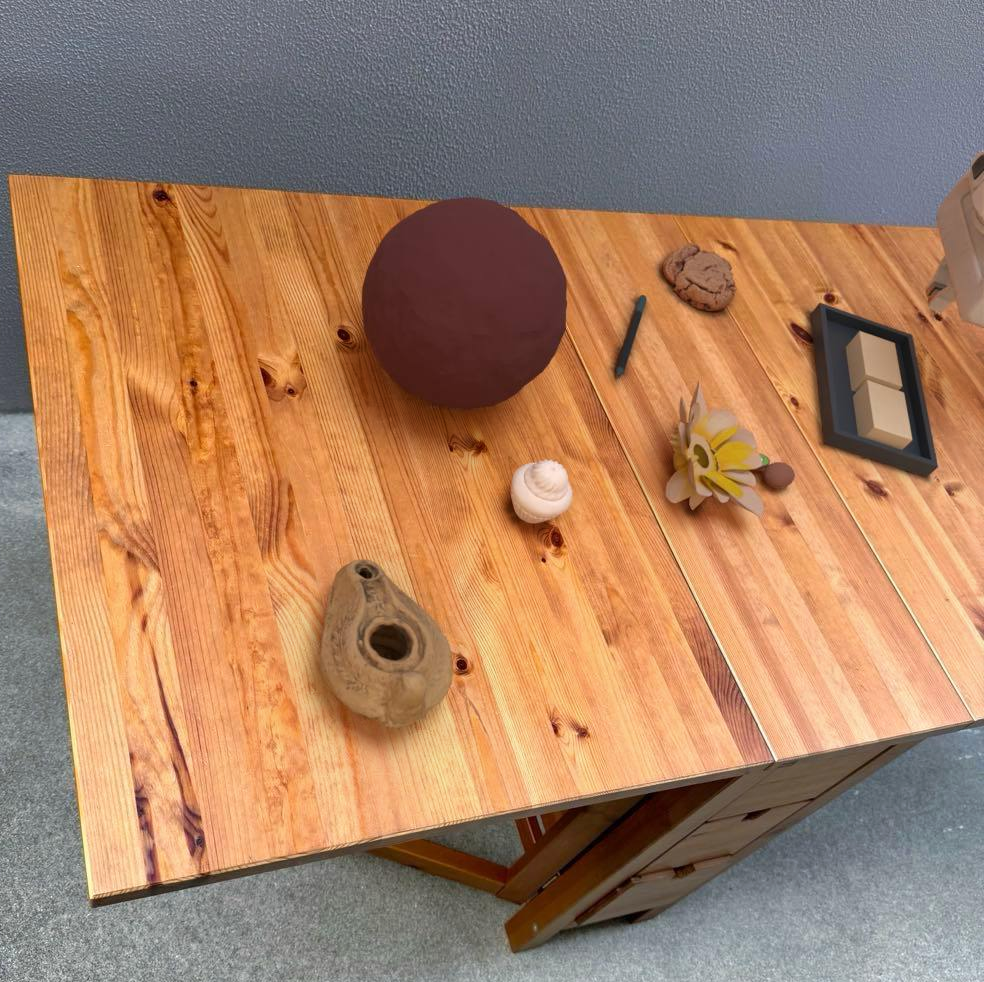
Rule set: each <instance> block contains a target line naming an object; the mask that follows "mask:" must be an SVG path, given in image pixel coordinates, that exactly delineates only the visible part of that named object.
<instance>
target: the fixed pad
mask: <svg viewBox="0 0 984 982" xmlns="http://www.w3.org/2000/svg"><path fill="white" fill-rule="evenodd" d="M853 402H854V410H855V417H856V425H857V432H858V436H860V437H863V438H866V439H869V440H872V441H875V442H878V443H881V444H884V445H887V446H890V447H893V448H896V449H899V450H903V449H904V448H905V447H906V446H907V445H908V444H909V443H910V442H911V441H912V435H911V429H910V423H909V418H908V412H907V407H906V401H905V395H904V392H901V391H898V390H895V389H892V388H889V387H886V386H883V385H880V384H877V383H874V382H872V381H869V380H867V381H866V382H865V383H864V384H863V386H862V387H861V388H860V389H859V390H858V391H857V392H856V393H855V394H854V396H853Z"/></svg>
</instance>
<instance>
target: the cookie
mask: <svg viewBox="0 0 984 982" xmlns="http://www.w3.org/2000/svg"><path fill="white" fill-rule="evenodd" d="M662 266H663V267H662V273H663V276H664V278H665V280H667V281H669V282H670V283H671V285H673V286H674V288H673V289H672V290H673V291H674V292H675V293H676V294H677V296H678V297H679V298H680V299H681V300H682V301H684V302H686V303H687V304H690V305H691V306H692V307H694V308H696V309H698V310H705V311H706V312H713V311H714V312H715V311H720V310H724V309H726V308H727V306H728V305H729V304H730V303H731V301H732V300H733V299H734V297H735V294H736V292H737V287H736V282H735V280H734V278H733V277H734V274H733V273H732V269H733V266H732V264H731V262H730V261H729V260H728V259H726V258H725V257H722V256H720V255H719V254H718V253H717V252H714V251H708V250H705V249H702V251H701V247H700V246H699V245H698V244H696V243H695V242H694V243H693V242H689V243H686V244H685V243H684V245H682V246H681V247H679V248H677V249H676V250H675V251H674V252H673V253H671V254H670V255H669V256H667V258H665V260H664V261H663V264H662Z"/></svg>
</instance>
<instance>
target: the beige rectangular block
mask: <svg viewBox="0 0 984 982" xmlns="http://www.w3.org/2000/svg"><path fill="white" fill-rule="evenodd" d="M846 354H847V361H848V369H849V376H850V384H851V390H852V391H855V392H857V391H858V390H859V389H860V388H861V387H862V386H863V384H864V383H865V382H866V381H867V380H869V381H872V382H874V383H877V384H880V385H883V386H886V387H889V388H892V389H895V390H898V391H899V389H900V388H901V387H902V381H901V376H900V370H899V365H898V359H897V353H896V348H895V343H893V342H890V341H887V340H884V339H881V338H878V337H876V336H873V335H870V334H867V333H864V332H861V331H859V332H858V333H857V335H856V336H855V337H854V338H853V339H852V341H851V342H850V343H849V344H848V345H847V346H846Z"/></svg>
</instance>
